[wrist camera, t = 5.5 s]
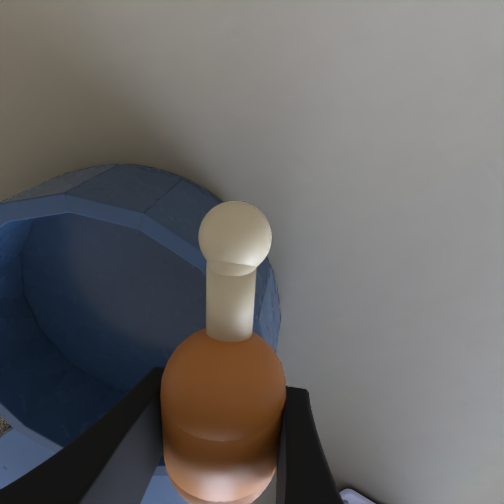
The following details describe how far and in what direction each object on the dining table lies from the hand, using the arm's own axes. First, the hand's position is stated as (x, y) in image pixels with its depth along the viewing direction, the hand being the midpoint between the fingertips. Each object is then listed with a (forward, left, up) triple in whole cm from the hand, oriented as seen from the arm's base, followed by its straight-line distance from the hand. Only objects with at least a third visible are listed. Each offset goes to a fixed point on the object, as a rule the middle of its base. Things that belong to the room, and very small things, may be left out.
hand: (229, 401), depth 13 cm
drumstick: (+2, +1, -1) cm, 2 cm away
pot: (-6, +4, -9) cm, 12 cm away
